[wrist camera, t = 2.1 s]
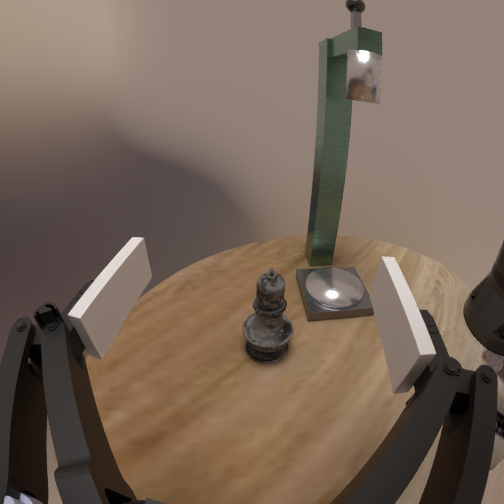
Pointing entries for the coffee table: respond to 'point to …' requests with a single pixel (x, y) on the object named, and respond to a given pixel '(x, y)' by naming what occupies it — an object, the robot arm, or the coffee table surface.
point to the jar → (495, 486)
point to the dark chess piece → (268, 321)
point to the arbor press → (337, 166)
